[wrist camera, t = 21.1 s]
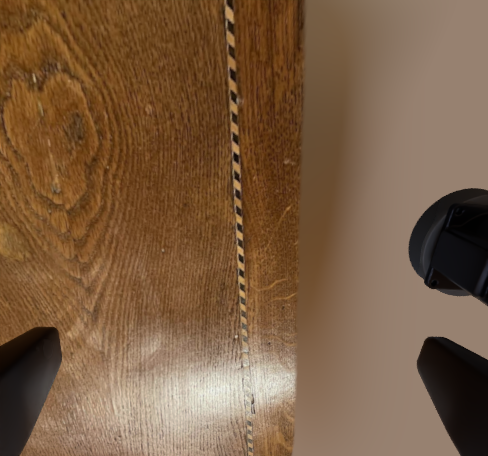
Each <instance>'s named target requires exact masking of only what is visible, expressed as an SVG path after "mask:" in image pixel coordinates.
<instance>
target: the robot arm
mask: <svg viewBox="0 0 488 456" xmlns="http://www.w3.org/2000/svg"><path fill="white" fill-rule="evenodd" d="M458 208H459V210H458V212H457V213H456V210H457V209H458ZM433 280H434V281H433ZM432 281H433V282H432ZM431 282H432V283H431ZM424 283H425V285H426V286H428V287H429V288H431V289H446V290H465V291H466V292H467V293H469V294H470V295H472V296H473V297H475V298H477V299H478V300H480V301H481V302H483V303H484V304H485V305H487V306H488V205H480V204H467V203H454V204H452V205H451V206H450V207H449V209H448V212H447V215H446V218H445V221H444V224H443V227H442V230H441V232H440V235H439V238H438V241H437V244H436V247H435V250H434V253H433V256H432V259H431V262H430V265H429V268H428V271H427V274H426V277H425V280H424ZM61 361H62V353H61V346H60V339H59V333H58V330H57V329H56V328H55V327H35V328H33V329H31V330H29V331H27V332H25V333H24V334H22V335H20V336H18V337H16V338H14V339H12V340H11V341H9V342H7V343H5V344H3V345H1V346H0V456H20V454H21V452H22V450H23V448H24V446H25V445H26V443H27V441H28V439H29V437H30V435H31V432H32V430H33V428H34V426H35V424H36V421H37V419H38V417H39V414H40V412H41V410H42V407H43V405H44V403H45V400H46V398H47V396H48V393H49V391H50V389H51V386H52V384H53V382H54V379H55V377H56V375H57V372H58V370H59V368H60V365H61ZM417 369H418V372H419V374H420V376H421V378H422V380H423V383H424V384H425V387H426V389H427V391H428V393H429V395H430V397H431V399H432V401H433V403H434V405H435V408H436V410H437V412H438V414H439V416H440V418H441V420H442V422H443V424H444V426H445V428H446V430H447V432H448V434H449V436H450V438H451V440H452V441H453V443H454V445H455V447H456V448H457V450H458V452H459V454H460V455H461V456H488V360H487V359H485V358H483V357H481V356H480V355H478V354H476V353H474V352H472V351H470V350H468V349H466V348H464V347H462V346H461V345H458V344H457V343H455V342H453V341H451V340H449V339H447V338H444V337H428V338H427V339H426V340H425V341H424V344H423V346H422V349H421V352H420V355H419V357H418V360H417Z"/></svg>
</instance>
